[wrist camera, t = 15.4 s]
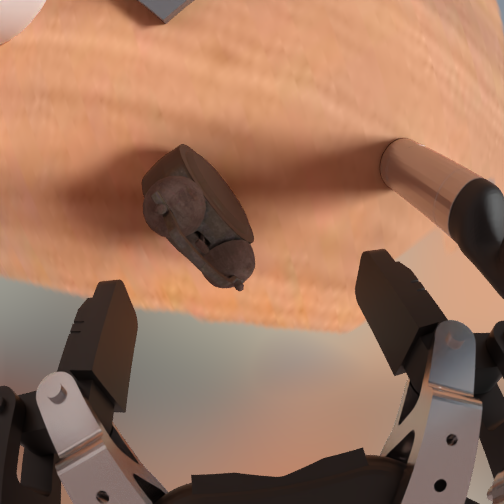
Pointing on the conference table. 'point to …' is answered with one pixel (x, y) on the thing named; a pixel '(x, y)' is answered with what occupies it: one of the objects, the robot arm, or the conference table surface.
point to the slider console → (165, 7)
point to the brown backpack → (199, 217)
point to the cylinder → (17, 16)
